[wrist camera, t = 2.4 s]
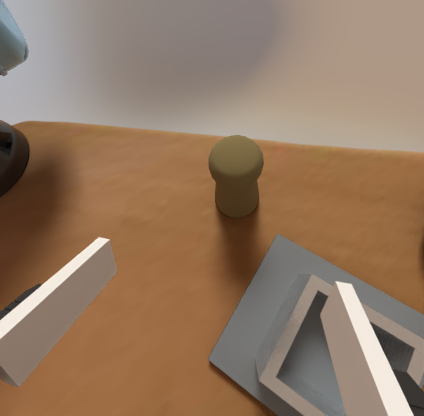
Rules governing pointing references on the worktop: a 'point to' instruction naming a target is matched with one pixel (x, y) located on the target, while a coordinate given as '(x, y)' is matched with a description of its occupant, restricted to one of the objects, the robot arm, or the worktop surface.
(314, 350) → the base plate
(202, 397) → the worktop surface
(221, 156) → the cork
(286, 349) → the metal collar
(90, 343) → the worktop surface
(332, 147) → the worktop surface
